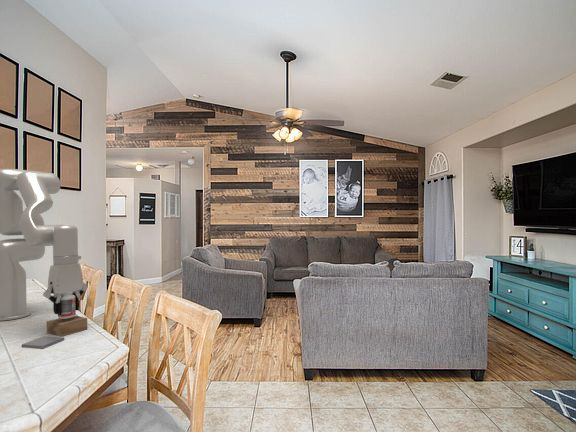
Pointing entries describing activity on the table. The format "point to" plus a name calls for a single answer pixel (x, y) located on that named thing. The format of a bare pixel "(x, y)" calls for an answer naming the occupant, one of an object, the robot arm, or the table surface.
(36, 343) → the slate coaster
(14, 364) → the table surface
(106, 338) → the table surface
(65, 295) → the pill bottle
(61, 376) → the table surface
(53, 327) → the walnut block
